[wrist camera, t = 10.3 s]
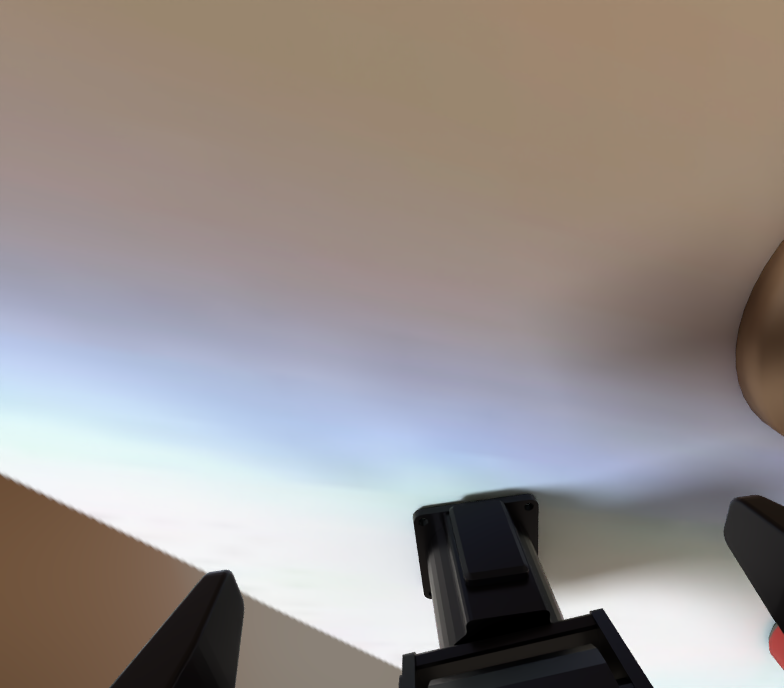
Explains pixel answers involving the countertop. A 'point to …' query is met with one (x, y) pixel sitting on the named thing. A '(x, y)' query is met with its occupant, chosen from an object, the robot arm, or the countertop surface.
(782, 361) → the ring board
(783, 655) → the beer can
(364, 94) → the countertop surface
